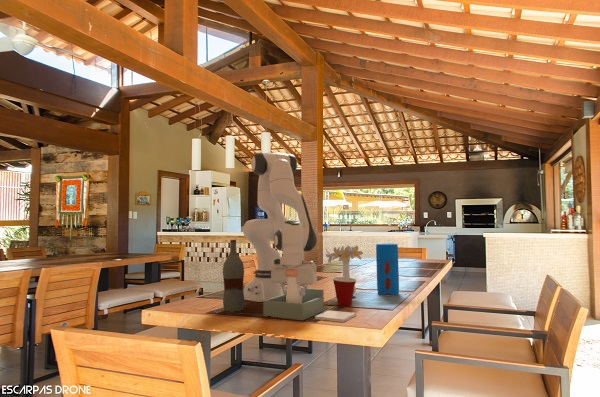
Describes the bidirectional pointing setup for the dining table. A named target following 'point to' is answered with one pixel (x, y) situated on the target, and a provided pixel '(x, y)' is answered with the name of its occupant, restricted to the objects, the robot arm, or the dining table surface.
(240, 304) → the bottle
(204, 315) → the dining table surface
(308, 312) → the grey open box
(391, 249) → the blue tall boxy piece
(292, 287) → the pepper shaker
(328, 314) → the ceramic tile
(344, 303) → the plastic cup
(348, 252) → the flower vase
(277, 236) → the robot arm
